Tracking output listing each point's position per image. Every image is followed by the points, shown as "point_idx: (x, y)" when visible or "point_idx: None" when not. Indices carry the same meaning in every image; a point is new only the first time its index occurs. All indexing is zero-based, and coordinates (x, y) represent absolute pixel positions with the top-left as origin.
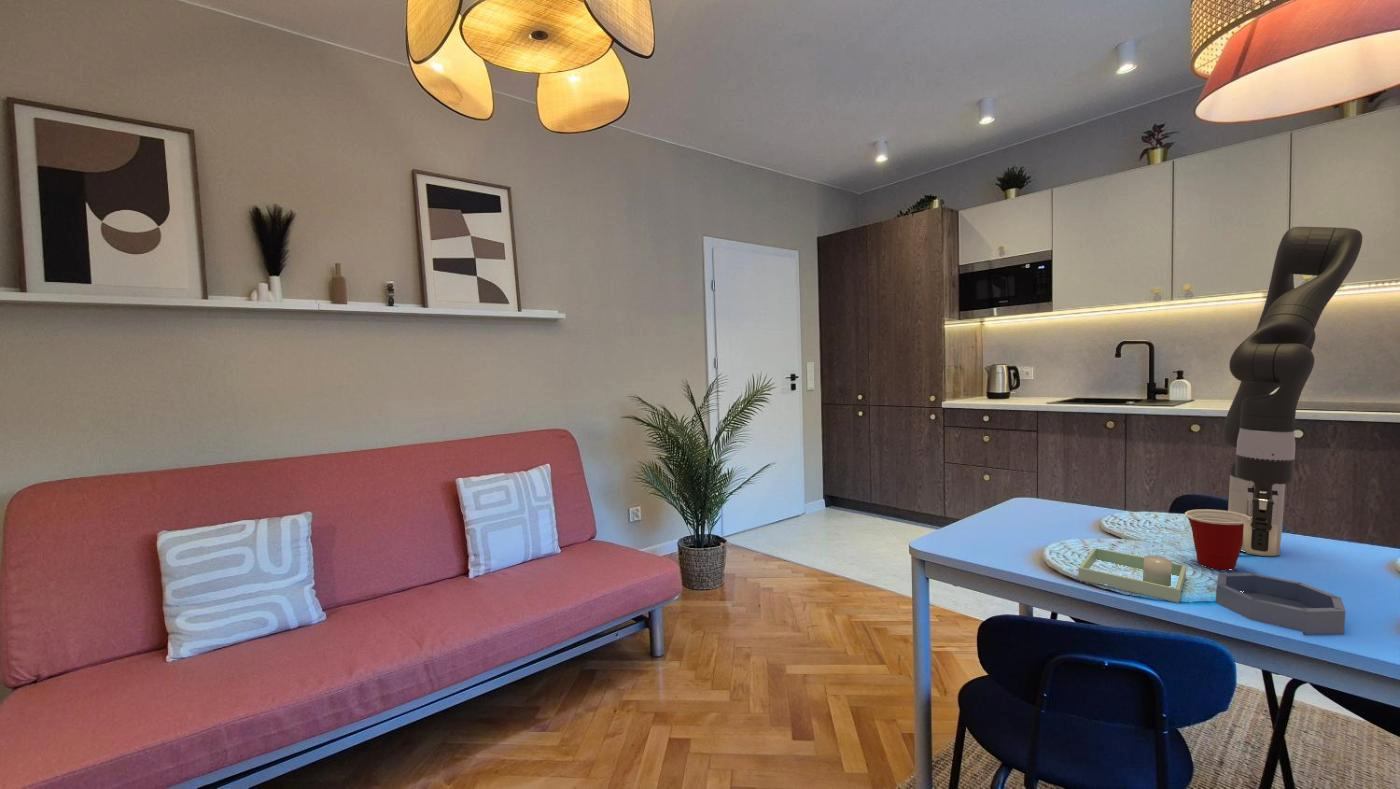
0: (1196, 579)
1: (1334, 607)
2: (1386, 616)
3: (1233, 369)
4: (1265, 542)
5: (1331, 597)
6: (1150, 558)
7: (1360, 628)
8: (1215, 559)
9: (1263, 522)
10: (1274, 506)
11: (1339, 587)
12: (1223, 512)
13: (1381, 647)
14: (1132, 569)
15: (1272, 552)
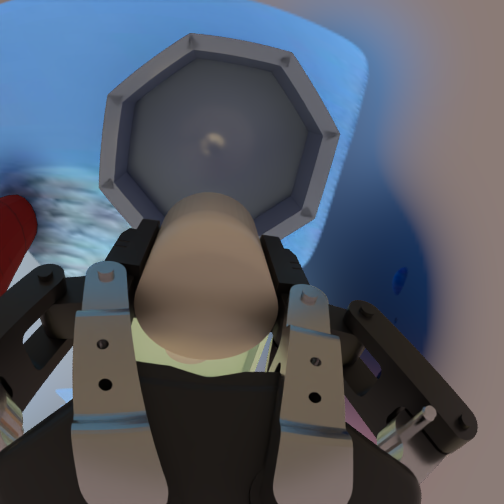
0: (100, 253)
1: (277, 65)
2: None
3: None
4: (299, 265)
5: (199, 50)
6: (190, 358)
7: (226, 25)
8: (26, 235)
9: (160, 300)
10: (342, 405)
11: (9, 48)
12: None
13: (314, 30)
14: (139, 336)
15: (245, 211)
